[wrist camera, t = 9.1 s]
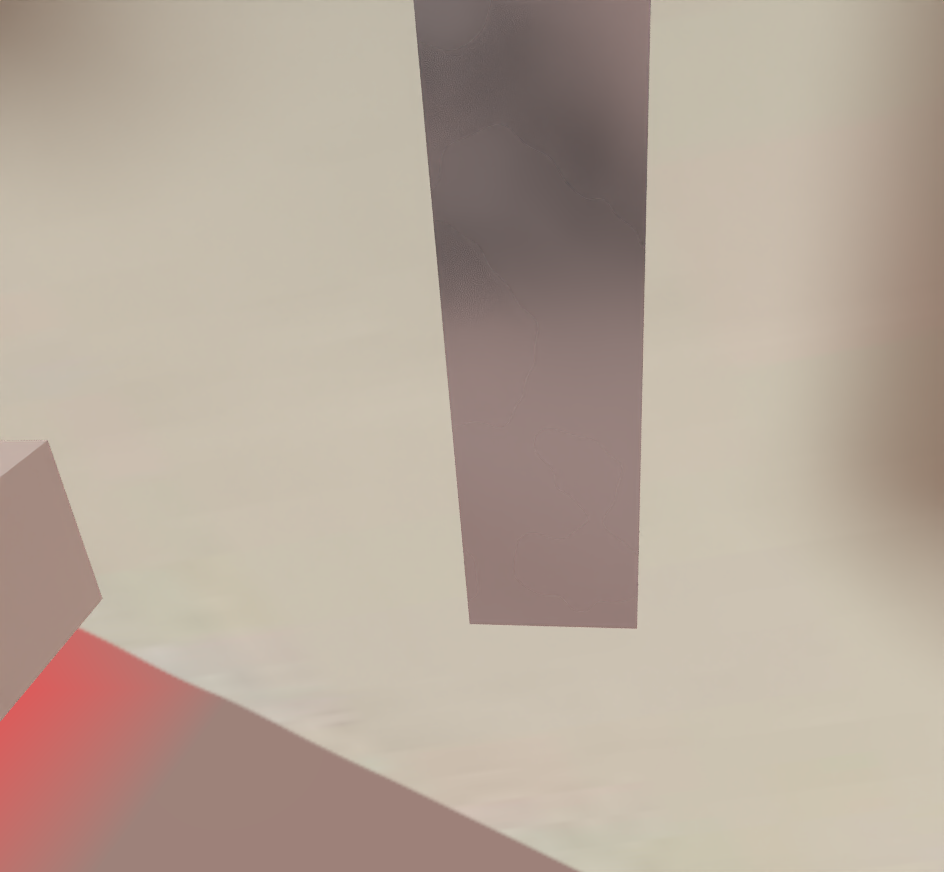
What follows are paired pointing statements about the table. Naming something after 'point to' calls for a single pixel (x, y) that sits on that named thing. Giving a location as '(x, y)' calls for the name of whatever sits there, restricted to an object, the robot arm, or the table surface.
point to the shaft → (542, 294)
